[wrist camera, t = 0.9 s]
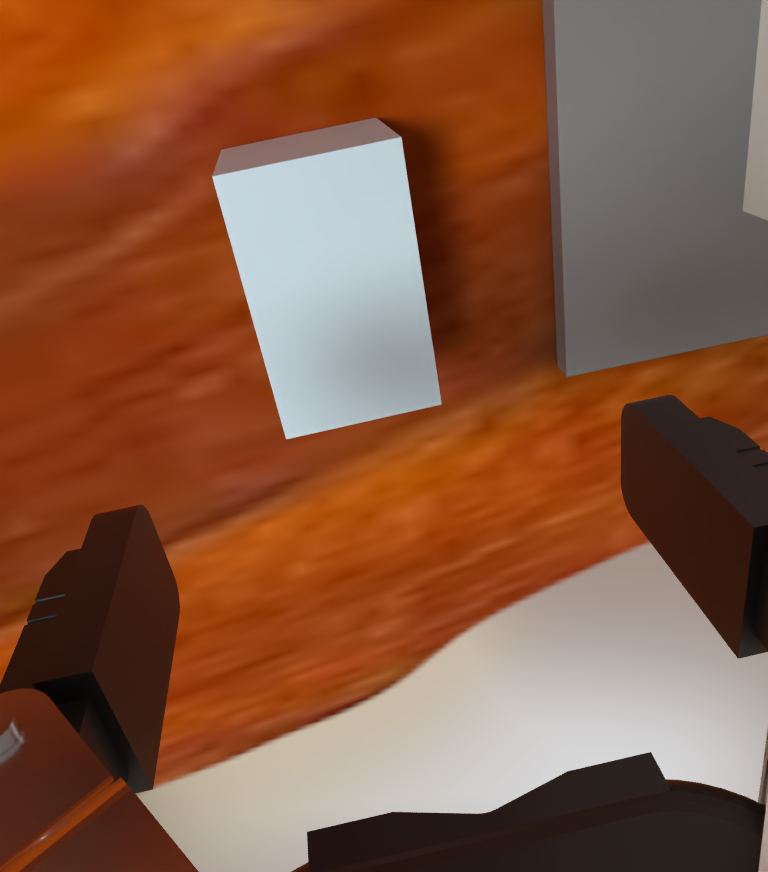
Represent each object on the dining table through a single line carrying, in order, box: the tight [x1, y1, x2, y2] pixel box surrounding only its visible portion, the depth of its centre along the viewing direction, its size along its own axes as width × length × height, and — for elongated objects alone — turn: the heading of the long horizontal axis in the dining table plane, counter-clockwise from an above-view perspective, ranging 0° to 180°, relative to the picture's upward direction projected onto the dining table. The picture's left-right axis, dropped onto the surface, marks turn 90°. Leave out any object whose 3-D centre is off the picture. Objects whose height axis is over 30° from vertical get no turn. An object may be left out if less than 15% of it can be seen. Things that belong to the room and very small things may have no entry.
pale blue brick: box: [212, 118, 442, 439], centre depth 23 cm, size 8×5×5 cm, turn 10°
